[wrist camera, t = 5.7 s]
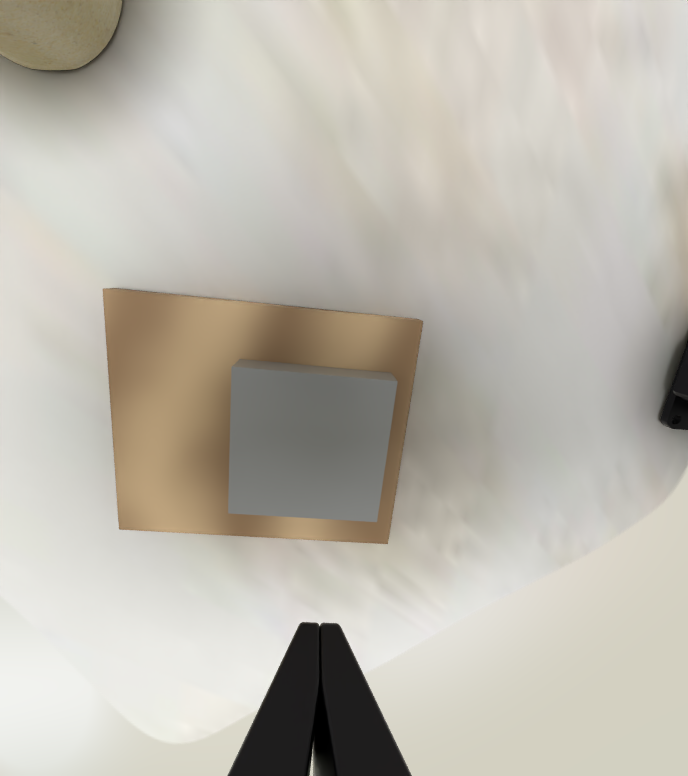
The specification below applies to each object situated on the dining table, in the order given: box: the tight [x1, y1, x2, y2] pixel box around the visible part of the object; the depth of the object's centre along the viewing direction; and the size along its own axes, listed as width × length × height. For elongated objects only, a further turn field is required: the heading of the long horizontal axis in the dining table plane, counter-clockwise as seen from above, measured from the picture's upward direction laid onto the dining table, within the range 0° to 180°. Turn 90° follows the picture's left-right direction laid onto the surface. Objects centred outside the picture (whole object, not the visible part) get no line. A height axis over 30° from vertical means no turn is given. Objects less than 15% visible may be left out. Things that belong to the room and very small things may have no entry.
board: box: [103, 288, 423, 544], centre depth 19 cm, size 14×12×1 cm
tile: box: [228, 359, 398, 522], centre depth 17 cm, size 2×7×7 cm
